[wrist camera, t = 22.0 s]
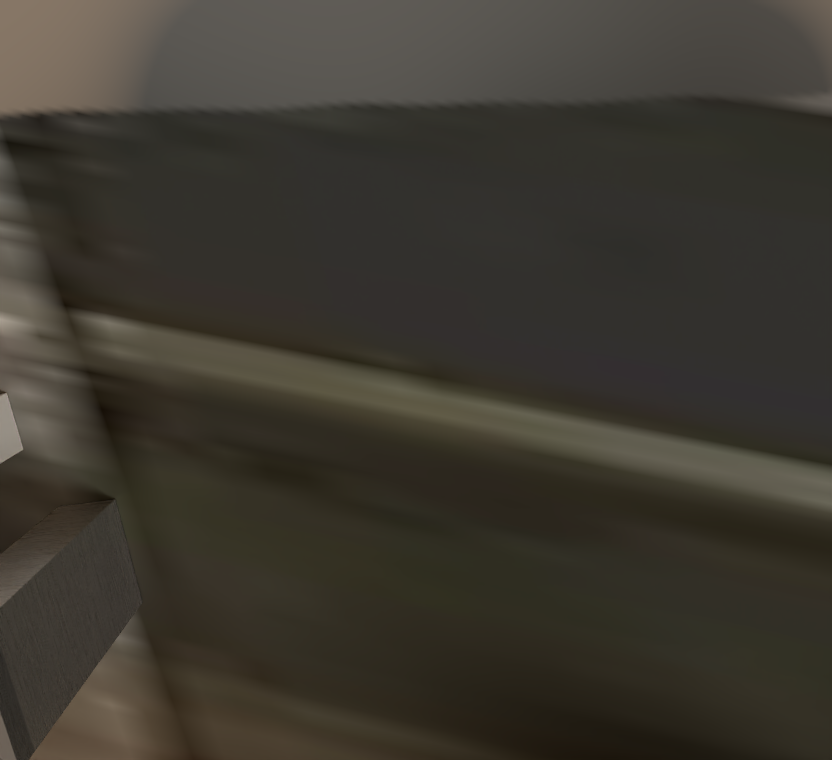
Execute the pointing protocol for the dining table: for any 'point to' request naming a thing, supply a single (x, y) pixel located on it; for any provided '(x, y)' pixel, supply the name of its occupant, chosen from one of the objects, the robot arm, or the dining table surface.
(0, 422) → the white and wooden mallet
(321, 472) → the dining table surface
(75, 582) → the housing
